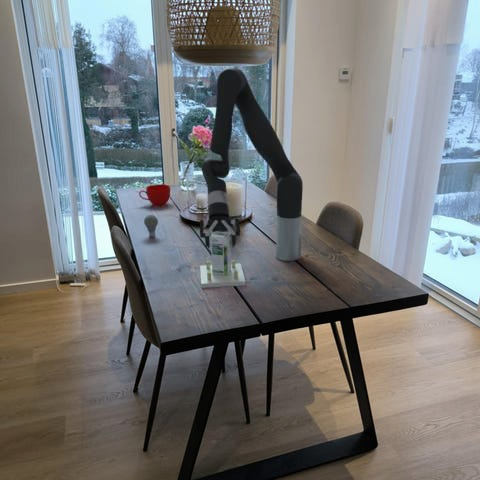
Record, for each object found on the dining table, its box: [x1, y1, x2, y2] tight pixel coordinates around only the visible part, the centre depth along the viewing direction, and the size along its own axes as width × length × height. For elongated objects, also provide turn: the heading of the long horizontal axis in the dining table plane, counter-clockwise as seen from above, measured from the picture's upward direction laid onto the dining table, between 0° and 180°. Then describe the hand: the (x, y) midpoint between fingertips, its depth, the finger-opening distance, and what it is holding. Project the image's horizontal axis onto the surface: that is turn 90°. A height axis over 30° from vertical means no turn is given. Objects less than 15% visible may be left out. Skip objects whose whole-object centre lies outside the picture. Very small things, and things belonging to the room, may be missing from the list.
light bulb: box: [143, 214, 159, 238], centre depth 193 cm, size 6×6×10 cm
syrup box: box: [210, 231, 232, 276], centre depth 153 cm, size 6×6×14 cm
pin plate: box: [199, 259, 246, 289], centre depth 155 cm, size 15×15×4 cm
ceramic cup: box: [138, 183, 171, 207], centre depth 239 cm, size 13×17×10 cm
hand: (221, 247), depth 152 cm, fingers open, 8 cm apart
